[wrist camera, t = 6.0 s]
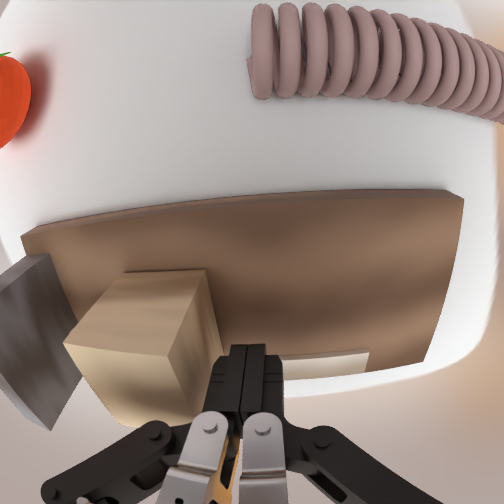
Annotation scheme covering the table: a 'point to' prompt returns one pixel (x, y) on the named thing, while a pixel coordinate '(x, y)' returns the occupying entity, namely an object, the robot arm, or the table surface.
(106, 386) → the block
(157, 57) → the table surface
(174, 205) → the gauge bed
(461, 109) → the coil
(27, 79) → the clementine
